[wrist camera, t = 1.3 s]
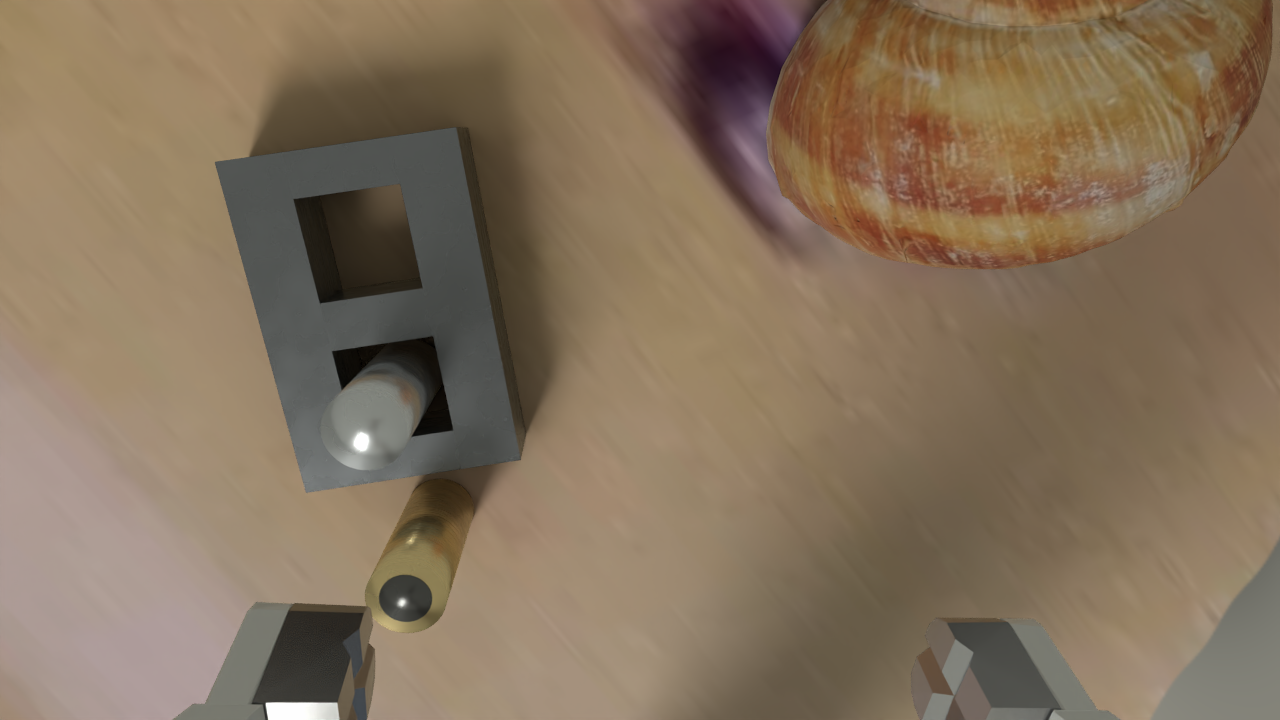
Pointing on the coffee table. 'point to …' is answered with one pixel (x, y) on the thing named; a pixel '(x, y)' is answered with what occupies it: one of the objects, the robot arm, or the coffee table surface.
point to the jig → (379, 312)
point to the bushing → (421, 558)
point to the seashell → (1010, 120)
